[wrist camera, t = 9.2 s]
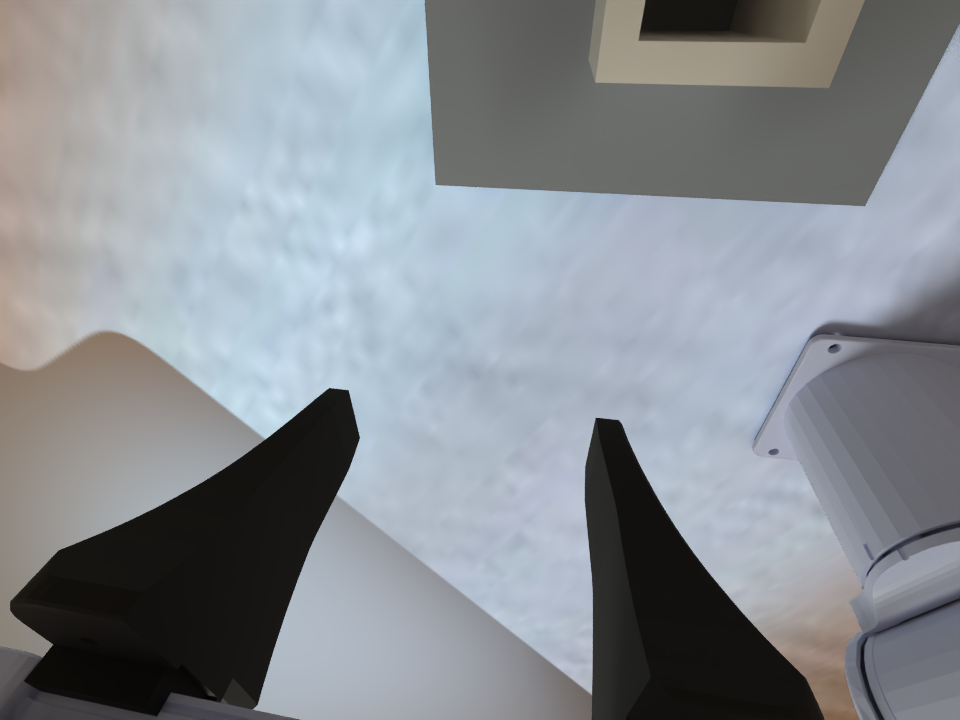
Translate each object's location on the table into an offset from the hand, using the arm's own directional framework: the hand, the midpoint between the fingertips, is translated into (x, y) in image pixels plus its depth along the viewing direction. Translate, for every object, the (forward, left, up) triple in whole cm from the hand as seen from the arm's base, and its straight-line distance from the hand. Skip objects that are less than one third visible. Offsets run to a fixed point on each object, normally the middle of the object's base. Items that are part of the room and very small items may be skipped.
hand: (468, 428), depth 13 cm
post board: (-5, -11, -10) cm, 16 cm away
